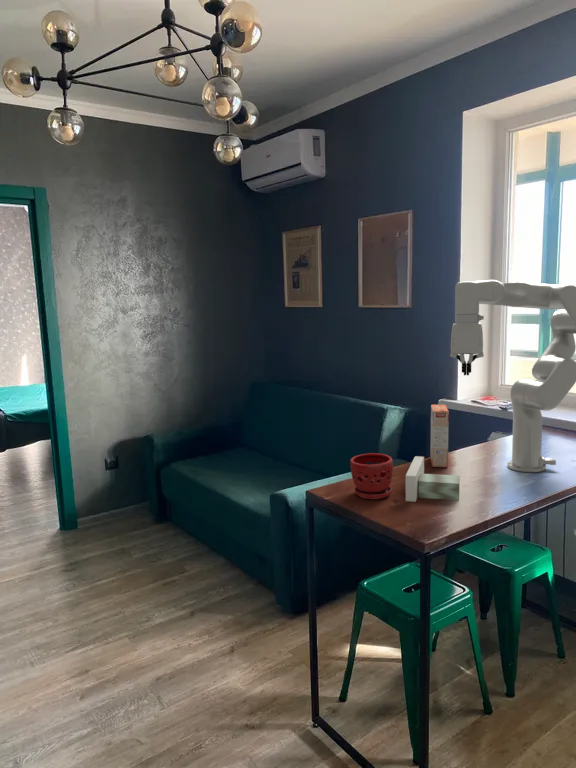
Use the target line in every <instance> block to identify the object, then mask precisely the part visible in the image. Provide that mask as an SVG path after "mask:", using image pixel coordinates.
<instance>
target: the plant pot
mask: <svg viewBox="0 0 576 768" xmlns="http://www.w3.org/2000/svg"><path fill="white" fill-rule="evenodd" d="M349 462H350V464H349V465H350V474H351V478H352V481H353V484H354V486H355V488H354V493H355V494H356V495H357V496H358V497H359V498H362V499H367V500H375V499H376V500H378V499H379V500H380V499H385V498H386V497H388V496H390V494H391V493H392V489H393V488H392V487H391V486H390V485H391V484H392V480H393V470H394V463H393V458H392V456H390V455H387V454H385V453H375V452H371V453H363V454H359V455H355V456H353V457H352V458H350V461H349ZM368 463H370V464H368Z"/></svg>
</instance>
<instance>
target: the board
mask: <svg viewBox="0 0 576 768" xmlns="http://www.w3.org/2000/svg"><path fill="white" fill-rule="evenodd" d="M420 474H425V456H419V455H418V456H417V455H416V456H414V458H413V460H412V461H411V463H410V465H409V468H408V470H407V472H406V474H405V502H414V503H416V501H417V499H418V498H419V478H420Z"/></svg>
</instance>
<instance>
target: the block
mask: <svg viewBox="0 0 576 768" xmlns="http://www.w3.org/2000/svg"><path fill="white" fill-rule="evenodd" d="M460 476H461V475H455V474H454V475H453V474H451V475H450V474H438V473H437V474H435V473H424V474H420V478H419V494H418V498H419V499H431V500H433V499H434V500H449V501H460Z"/></svg>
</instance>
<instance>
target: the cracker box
mask: <svg viewBox="0 0 576 768" xmlns="http://www.w3.org/2000/svg"><path fill="white" fill-rule="evenodd" d="M449 415H450V411H449V409H448V406H447V405H446V404H431V405H430V455H429V457H430V463H431V467H432V468H448V467H449V423H450V421H449V420H450V419H449V418H450V416H449Z"/></svg>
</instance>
